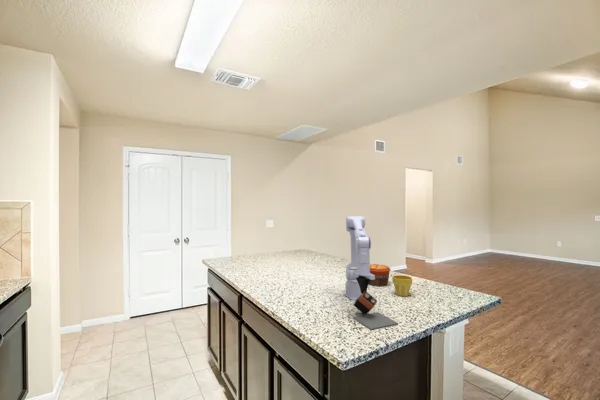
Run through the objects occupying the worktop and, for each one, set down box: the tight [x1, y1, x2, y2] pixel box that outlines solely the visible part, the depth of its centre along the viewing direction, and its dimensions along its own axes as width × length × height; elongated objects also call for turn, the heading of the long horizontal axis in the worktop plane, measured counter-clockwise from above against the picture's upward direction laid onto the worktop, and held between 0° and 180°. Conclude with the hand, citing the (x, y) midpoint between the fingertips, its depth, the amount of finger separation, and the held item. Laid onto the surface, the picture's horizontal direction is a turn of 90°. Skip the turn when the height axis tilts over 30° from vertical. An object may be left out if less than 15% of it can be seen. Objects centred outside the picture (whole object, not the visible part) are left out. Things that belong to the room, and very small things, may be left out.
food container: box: [368, 263, 392, 287], centre depth 181 cm, size 16×16×11 cm
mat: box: [352, 311, 399, 331], centre depth 124 cm, size 13×14×1 cm
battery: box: [353, 291, 378, 315], centre depth 129 cm, size 4×7×10 cm
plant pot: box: [392, 274, 413, 297], centre depth 160 cm, size 10×10×10 cm
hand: (363, 293), depth 130 cm, fingers closed, pressing on battery
